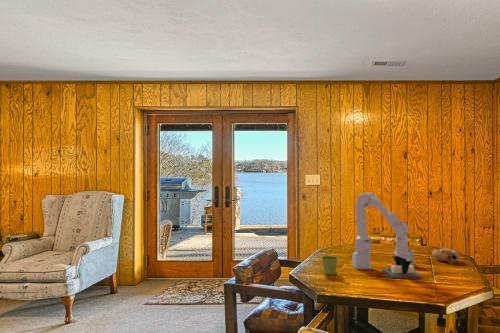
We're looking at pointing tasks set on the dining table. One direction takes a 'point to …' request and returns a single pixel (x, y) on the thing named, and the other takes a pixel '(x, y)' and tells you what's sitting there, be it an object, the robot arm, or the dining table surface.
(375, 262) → the dining table surface
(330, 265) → the plant pot
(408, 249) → the cup
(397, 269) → the power strip
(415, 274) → the keyhole plate
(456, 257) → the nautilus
